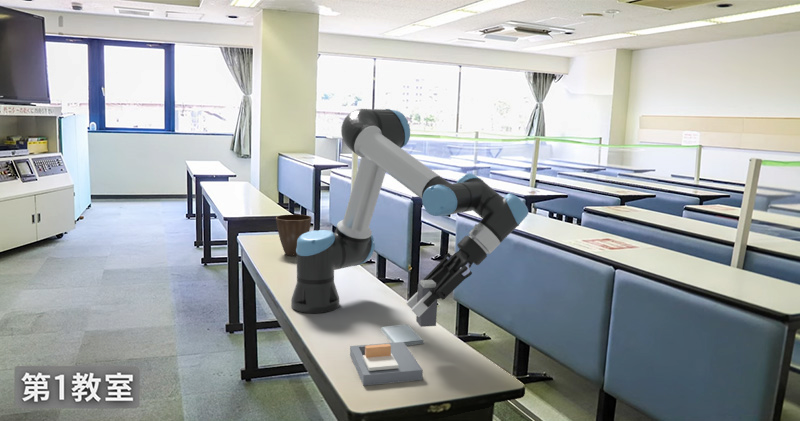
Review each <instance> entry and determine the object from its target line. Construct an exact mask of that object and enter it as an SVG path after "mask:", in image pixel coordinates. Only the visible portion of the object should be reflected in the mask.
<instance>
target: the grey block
mask: <svg viewBox="0 0 800 421" xmlns="http://www.w3.org/2000/svg"><path fill="white" fill-rule="evenodd" d="M435 287H436V283H435V282H434V281H433V280H424V279H420V280H419V283H417V291H418V296H417V303H418V302H419V301H420V300H421V299H422V298H423V297H424V296H425V295H426V294H427V293H428V292H429V291H430V289H434V288H435ZM430 292H431V291H430ZM431 293H432V292H431ZM437 311H438V299H437V300H436V301H435V302H434V303H433V304H432V305H431V306H430V307H429V308H428V309H427V310H426V311H425V312H424V313H423V314H422V315H421V316H420V317H418V316H417V315H415V316H416V318H415V320H416V323H417V324H418V325H419V326H420V328H424V327H435V326H437V314H438V312H437Z"/></svg>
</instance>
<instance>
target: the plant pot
mask: <svg viewBox="0 0 800 421" xmlns="http://www.w3.org/2000/svg"><path fill="white" fill-rule="evenodd" d="M275 222H276V227H277V228H276V229H277V231H278V232H277V233H278V236H279V240H280V243H281V247H282V250H283V252H284V255H286V256H290V257H297V253H296V248H297V240H298V238H299V237H300V236H301V235H302V234H304V233H307V232H310V230H311V223H312V216H310V215H305V214H283V215H281V214H280V215H278V216H276V217H275Z"/></svg>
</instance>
